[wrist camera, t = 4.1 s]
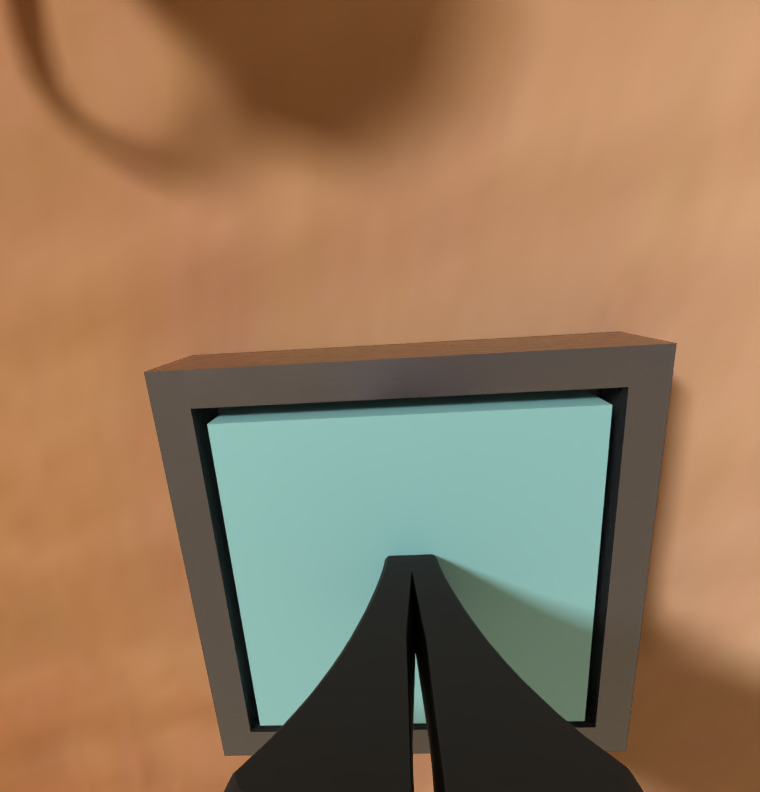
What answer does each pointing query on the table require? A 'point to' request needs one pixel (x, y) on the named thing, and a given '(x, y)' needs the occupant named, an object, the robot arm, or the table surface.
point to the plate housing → (422, 378)
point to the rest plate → (415, 527)
